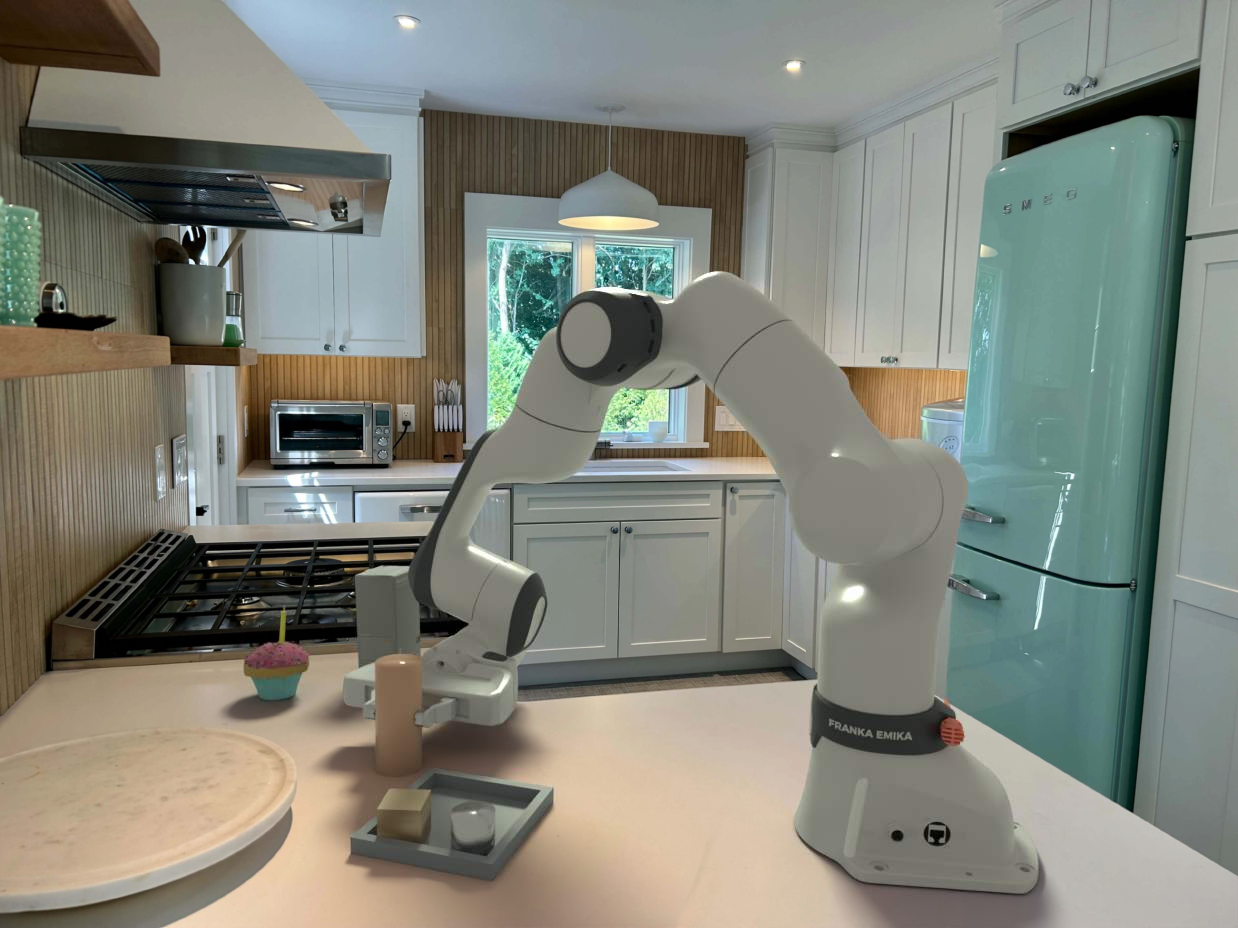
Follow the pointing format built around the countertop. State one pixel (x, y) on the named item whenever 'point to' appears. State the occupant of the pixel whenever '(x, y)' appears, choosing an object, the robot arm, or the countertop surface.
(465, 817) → the part metal
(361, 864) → the countertop surface
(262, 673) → the cupcake
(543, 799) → the parts tray
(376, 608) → the skincare box
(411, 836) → the part oak
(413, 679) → the canister
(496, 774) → the countertop surface
